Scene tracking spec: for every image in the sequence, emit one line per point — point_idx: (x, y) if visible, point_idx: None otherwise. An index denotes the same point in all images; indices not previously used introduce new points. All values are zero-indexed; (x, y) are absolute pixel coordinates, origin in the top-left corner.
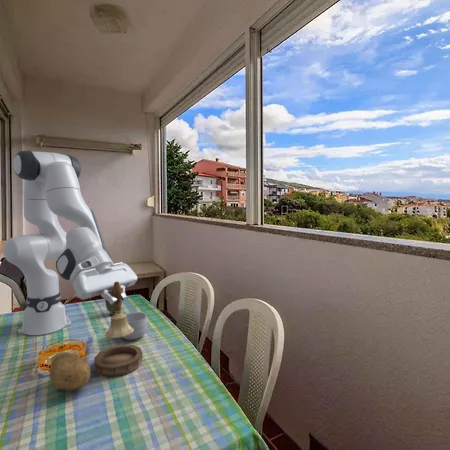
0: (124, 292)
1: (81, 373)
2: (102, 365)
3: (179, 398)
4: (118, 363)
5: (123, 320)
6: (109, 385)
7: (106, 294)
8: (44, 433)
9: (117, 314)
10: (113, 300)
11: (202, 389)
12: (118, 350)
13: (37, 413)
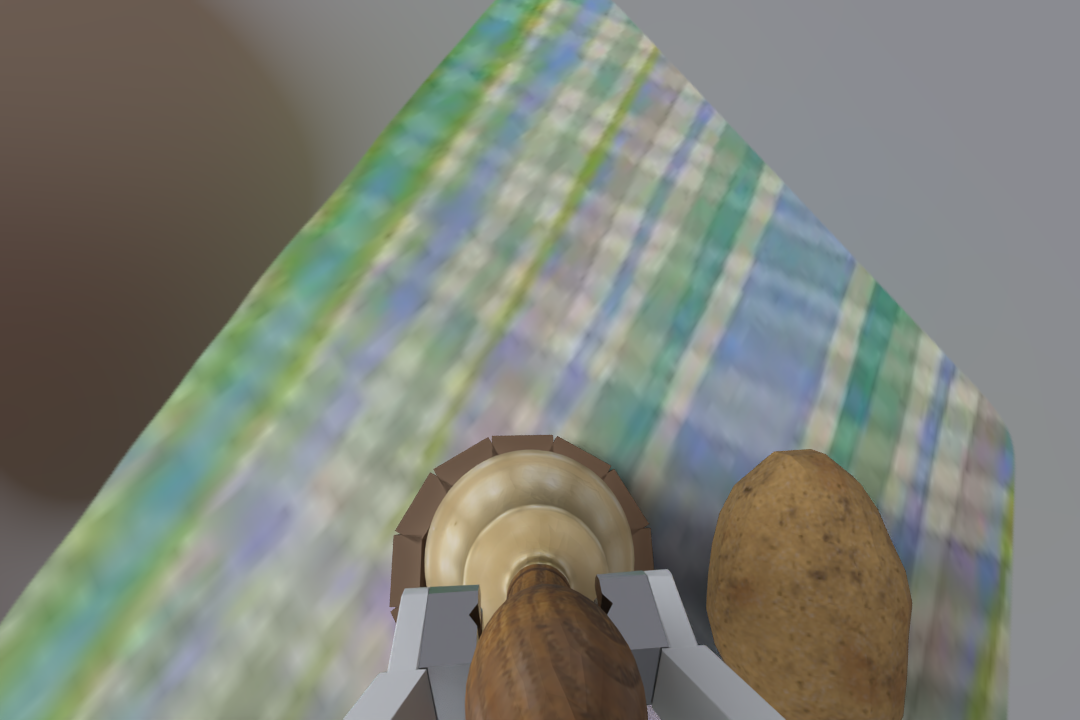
0: (389, 673)
1: (811, 456)
2: (640, 539)
3: (540, 169)
4: None
5: (534, 501)
6: (650, 437)
7: (774, 718)
8: (914, 380)
9: (564, 566)
10: (659, 576)
11: (456, 139)
12: None
13: (913, 505)
